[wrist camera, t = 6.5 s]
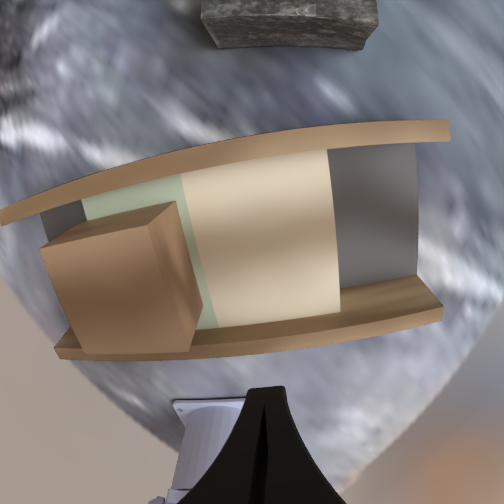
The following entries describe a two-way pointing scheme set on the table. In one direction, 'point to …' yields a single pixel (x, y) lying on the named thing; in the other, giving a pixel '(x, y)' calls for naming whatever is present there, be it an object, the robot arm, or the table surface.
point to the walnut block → (127, 282)
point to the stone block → (290, 22)
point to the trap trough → (276, 233)
